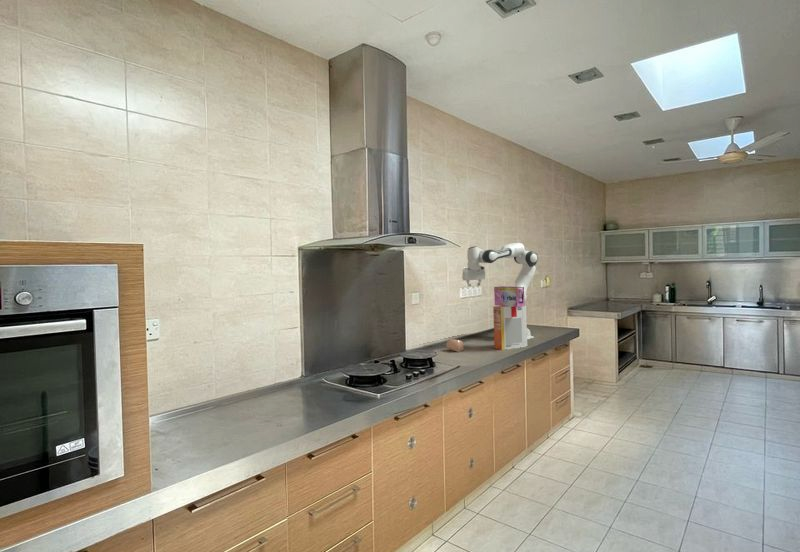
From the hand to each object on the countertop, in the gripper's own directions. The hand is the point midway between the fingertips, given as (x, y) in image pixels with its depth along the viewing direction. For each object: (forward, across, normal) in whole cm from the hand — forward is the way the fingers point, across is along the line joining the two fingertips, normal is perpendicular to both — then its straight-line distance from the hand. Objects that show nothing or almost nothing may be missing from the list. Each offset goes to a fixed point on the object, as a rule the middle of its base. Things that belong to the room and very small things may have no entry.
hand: (474, 285), depth 326 cm
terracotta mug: (+41, -29, -7) cm, 51 cm away
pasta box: (+44, +9, -28) cm, 53 cm away
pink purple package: (+14, +8, -28) cm, 32 cm away
